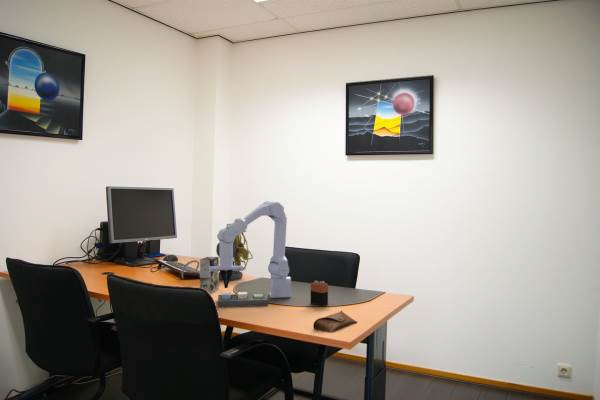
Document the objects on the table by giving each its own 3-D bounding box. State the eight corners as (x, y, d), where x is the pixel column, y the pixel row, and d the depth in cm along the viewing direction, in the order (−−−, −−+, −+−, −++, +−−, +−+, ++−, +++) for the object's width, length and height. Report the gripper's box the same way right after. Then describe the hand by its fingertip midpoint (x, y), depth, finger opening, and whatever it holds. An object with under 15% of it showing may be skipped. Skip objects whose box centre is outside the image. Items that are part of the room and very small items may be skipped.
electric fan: (254, 280, 261) (254, 224, 260) (198, 287, 243) (197, 227, 242) (232, 272, 283) (232, 221, 281) (179, 278, 265) (179, 223, 263)
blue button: (230, 299, 214) (230, 292, 214) (230, 301, 210) (230, 294, 210) (221, 299, 213) (221, 292, 213) (221, 301, 209) (221, 294, 209)
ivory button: (246, 298, 215) (246, 292, 215) (247, 300, 211) (247, 294, 211) (237, 299, 214) (237, 292, 214) (237, 301, 210) (237, 294, 210)
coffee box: (212, 293, 230) (212, 259, 229) (199, 292, 231) (199, 259, 231) (219, 289, 239) (219, 256, 238) (206, 288, 240) (206, 256, 240)
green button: (262, 300, 216) (262, 294, 216) (263, 303, 212) (263, 296, 212) (253, 301, 215) (253, 294, 215) (254, 303, 212) (254, 296, 211)
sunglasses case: (332, 333, 171) (324, 315, 173) (318, 339, 175) (310, 322, 177) (358, 321, 185) (351, 305, 187) (345, 328, 189) (338, 312, 191)
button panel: (265, 298, 220) (265, 293, 220) (267, 305, 208) (267, 299, 208) (218, 300, 217) (218, 294, 217) (217, 307, 205) (217, 301, 205)
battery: (321, 306, 208) (322, 283, 207) (310, 303, 212) (310, 280, 212) (328, 304, 211) (328, 281, 211) (316, 301, 216) (316, 279, 215)
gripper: (208, 258, 206) (208, 290, 206) (243, 257, 208) (243, 289, 209) (209, 255, 213) (209, 286, 213) (242, 255, 215) (242, 285, 216)
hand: (226, 287), depth 211 cm, fingers closed
